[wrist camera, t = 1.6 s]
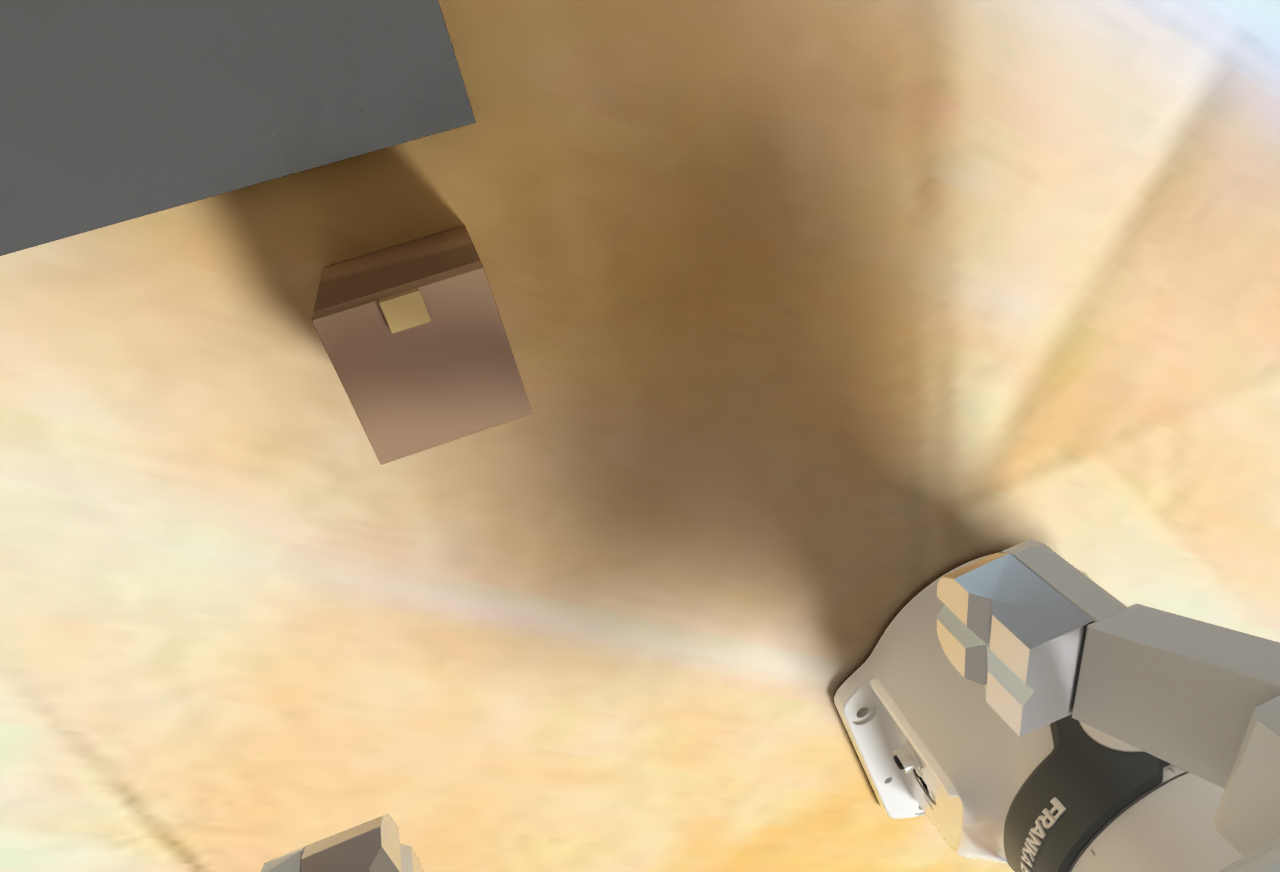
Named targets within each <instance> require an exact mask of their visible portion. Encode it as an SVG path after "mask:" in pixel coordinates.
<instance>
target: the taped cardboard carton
mask: <svg viewBox="0 0 1280 872" xmlns="http://www.w3.org/2000/svg"><path fill="white" fill-rule="evenodd" d="M312 322H313V324H314V326H315V328H316V330H317V333H318V335H319V337H320V339H321V341H322V343H323V345H324V347H325V349H326V351H327V353H328V355H329V358H330V360H331V362H332V364H333V366H334V368H335V370H336V372H337V374H338V376H339V378H340V380H341V383H342V385H343V387H344V389H345V391H346V393H347V395H348V397H349V399H350V401H351V403H352V405H353V408H354V410H355V412H356V414H357V416H358V418H359V420H360V422H361V424H362V426H363V428H364V430H365V433H366V435H367V437H368V439H369V441H370V443H371V445H372V447H373V449H374V451H375V453H376V455H377V458H378V460H379V462H380V464H381V465H382V464H385V463H388V462H391V461H394V460H397V459H400V458H402V457H405V456H408V455H411V454H414V453H417V452H420V451H423V450H426V449H429V448H432V447H435V446H438V445H441V444H443V443H446V442H449V441H452V440H455V439H458V438H461V437H464V436H467V435H470V434H473V433H476V432H479V431H482V430H484V429H487V428H490V427H493V426H496V425H499V424H502V423H505V422H508V421H511V420H514V419H517V418H520V417H523V416H525V415H528V414H531V413H532V410H531V407H530V404H529V401H528V398H527V395H526V392H525V389H524V386H523V383H522V380H521V377H520V374H519V371H518V369H517V366H516V363H515V360H514V357H513V354H512V351H511V348H510V345H509V342H508V339H507V336H506V333H505V330H504V327H503V324H502V321H501V318H500V315H499V312H498V309H497V306H496V303H495V300H494V298H493V295H492V292H491V289H490V286H489V283H488V280H487V277H486V274H485V271H484V268H483V266H482V263H481V261H480V259H479V257H478V254H477V252H476V250H475V248H474V245H473V243H472V241H471V239H470V236H469V234H468V232H467V230H466V227H465V225H464V226H460V227H457V228H454V229H450V230H447V231H444V232H440V233H437V234H434V235H430V236H427V237H424V238H420V239H417V240H414V241H410V242H407V243H404V244H400V245H397V246H394V247H390V248H387V249H384V250H380V251H377V252H374V253H370V254H367V255H364V256H360V257H357V258H354V259H350V260H347V261H344V262H340V263H337V264H334V265H330V266H327V267H324V268H323V271H322V276H321V281H320V285H319V290H318V295H317V299H316V304H315V308H314V313H313V318H312Z"/></svg>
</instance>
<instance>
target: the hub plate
mask: <svg viewBox="0 0 1280 872" xmlns="http://www.w3.org/2000/svg"><path fill="white" fill-rule="evenodd" d="M472 123H476V121H475V118H474V115H473V111H472V108H471V105H470V102H469V99H468V95H467V92H466V89H465V86H464V82H463V79H462V76H461V73H460V70H459V66H458V63H457V60H456V57H455V54H454V50H453V47H452V44H451V41H450V37H449V34H448V31H447V28H446V25H445V21H444V18H443V15H442V12H441V8H440V5H439V2H438V0H0V256H2V255H5V254H9V253H12V252H16V251H19V250H23V249H26V248H30V247H34V246H37V245H41V244H44V243H48V242H51V241H55V240H59V239H62V238H66V237H69V236H73V235H76V234H80V233H84V232H87V231H91V230H94V229H98V228H101V227H105V226H108V225H112V224H116V223H119V222H123V221H126V220H130V219H133V218H137V217H141V216H144V215H148V214H151V213H155V212H158V211H162V210H166V209H169V208H173V207H176V206H180V205H183V204H187V203H190V202H194V201H198V200H201V199H205V198H208V197H212V196H215V195H219V194H223V193H226V192H230V191H233V190H237V189H240V188H244V187H248V186H251V185H255V184H258V183H262V182H265V181H269V180H272V179H276V178H280V177H283V176H287V175H290V174H294V173H297V172H301V171H305V170H308V169H312V168H315V167H319V166H322V165H326V164H330V163H333V162H337V161H340V160H344V159H347V158H351V157H354V156H358V155H362V154H365V153H369V152H372V151H376V150H379V149H383V148H387V147H390V146H394V145H397V144H401V143H404V142H408V141H412V140H415V139H419V138H422V137H426V136H429V135H433V134H436V133H440V132H444V131H447V130H451V129H454V128H458V127H461V126H465V125H469V124H472Z"/></svg>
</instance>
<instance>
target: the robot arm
mask: <svg viewBox="0 0 1280 872" xmlns="http://www.w3.org/2000/svg"><path fill="white" fill-rule="evenodd" d="M834 703H835V706H836V708H837V710H838V712H839V715H840V717H841V719H842V721H843V724H844V726H845V728H846V730H847V732H848V735H849V737H850V739H851V741H852V744H853V746H854V748H855V750H856V753H857V755H858V757H859V759H860V762H861V764H862V766H863V768H864V770H865V773H866V775H867V777H868V779H869V782H870V784H871V786H872V788H873V791H874V793H875V795H876V797H877V799H878V802H879V804H880V806H881V807H882V808H883V809H884V811H885V812H886V813H887V815H888V816H889V817H891V818H911V817H916V816H921V815H925V814H926V815H927V816H928V818H929V819H930V820H931V822H932V823H933V825H934V826H935V827H936V829H937V830H938V832H939V833H940V834H941V836H942V837H943V838H944V840H945V841H946V842H947V844H948V845H949V846H950V847H951V848H952V850H953V851H954V852H955V853H957V854H958V855H961V856H963V857H967V858H973V859H983V860H990V861H997V862H1003V863H1008V864H1009V866H1010V867H1011V868H1012V869H1013V870H1014V871H1015V872H1280V643H1279V642H1275V641H1271V640H1268V639H1264V638H1260V637H1257V636H1253V635H1249V634H1246V633H1242V632H1238V631H1235V630H1231V629H1227V628H1224V627H1220V626H1216V625H1213V624H1209V623H1205V622H1202V621H1198V620H1194V619H1191V618H1187V617H1184V616H1180V615H1176V614H1173V613H1169V612H1165V611H1162V610H1158V609H1154V608H1151V607H1147V606H1143V605H1140V604H1134V605H1132V606H1129V607H1127V606H1125V605H1124V604H1123V603H1121V602H1120V601H1119V600H1117V599H1116V598H1115V597H1113V596H1112V595H1111V594H1109V593H1108V592H1107V591H1105V590H1104V589H1103V588H1101V587H1100V586H1099V585H1097V584H1096V583H1095V582H1093V581H1092V580H1091V579H1089V578H1088V577H1087V576H1085V575H1084V574H1083V573H1081V572H1080V571H1079V570H1077V569H1076V568H1075V567H1073V566H1072V565H1071V564H1069V563H1068V562H1067V561H1065V560H1064V559H1063V558H1061V557H1060V556H1059V555H1057V554H1056V553H1055V552H1053V551H1052V550H1051V549H1049V548H1048V547H1047V546H1046V545H1044V544H1043V543H1041V542H1039V541H1036V540H1033V539H1029V540H1027V541H1024V542H1022V543H1019V544H1017V545H1015V546H1013V547H1010V548H1008V549H1006V550H1003V551H1001V552H999V553H994V554H991V555H987V556H984V557H980V558H977V559H975V560H972V561H970V562H967V563H965V564H963V565H961V566H959V567H957V568H955V569H953V570H951V571H949V572H948V573H946V574H944V575H943V576H941V577H940V578H938V579H937V580H935V581H934V582H932V583H931V584H930V585H928V586H927V587H926V588H924V589H923V590H922V591H921V592H920V593H918V594H917V595H916V596H915V597H914V598H913V599H912V600H911V601H910V602H909V603H908V604H907V605H906V606H905V607H904V608H903V609H902V610H901V611H900V612H899V613H898V614H897V616H896V617H895V618H894V619H893V620H892V622H891V623H890V624H889V626H888V627H887V629H886V630H885V632H884V633H883V635H882V636H881V638H880V640H879V641H878V643H877V645H876V647H875V648H874V650H873V652H872V653H871V655H870V656H869V657H868V659H867V660H866V661H865V663H863V664H862V665H861V666H860V667H859V668H858V669H857V670H856V671H855V672H854V673H853V674H852V675H851V676H850V677H849V678H848V679H847V680H846V681H845V682H844V683H843V684H842V685H841V686H840V687H839V689H838V690H837V692H836V694H835V696H834ZM261 872H424V871H423V868H422V866H421V864H420V861H419V859H418V857H417V855H416V853H415V852H414V850H413V849H412V847H411V846H407V845H403V844H400V840H399V827H398V826H397V825H396V823H395V822H394V821H393V819H392V818H391V817H390V815H389V814H386V815H384V816H381V817H378V818H376V819H373V820H371V821H368V822H366V823H363V824H361V825H358V826H356V827H353V828H351V829H348V830H346V831H343V832H340V833H338V834H335V835H333V836H330V837H328V838H325V839H323V840H320V841H318V842H315V843H313V844H310V845H308V846H305V847H303V848H300V849H298V850H295V851H293V852H291V853H288V854H286V855H283V856H281V857H279V858H276V859H274V860H271V861H269V862H267V863H264V866H263V868H262V870H261Z"/></svg>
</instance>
